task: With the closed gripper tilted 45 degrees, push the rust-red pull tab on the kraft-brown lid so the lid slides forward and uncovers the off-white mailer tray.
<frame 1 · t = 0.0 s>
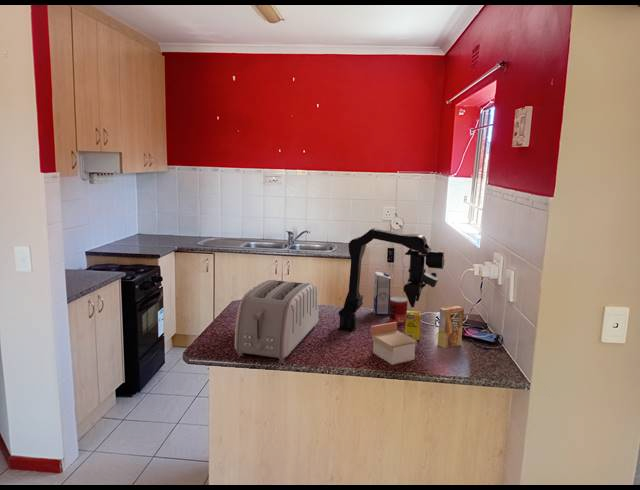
hand: (414, 304, 191), 15 cm above the worktop, tool pointing down, fingers open, 9 cm apart
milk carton: (381, 313, 225), on the worktop
mailer tray: (393, 356, 176), on the worktop
candy box: (449, 345, 188), on the worktop
canned food: (397, 322, 213), on the worktop
toaster: (278, 342, 188), on the worktop
lid: (393, 336, 175), point 8 cm above the worktop, slide at 0.0 cm
supplement box: (412, 339, 194), on the worktop
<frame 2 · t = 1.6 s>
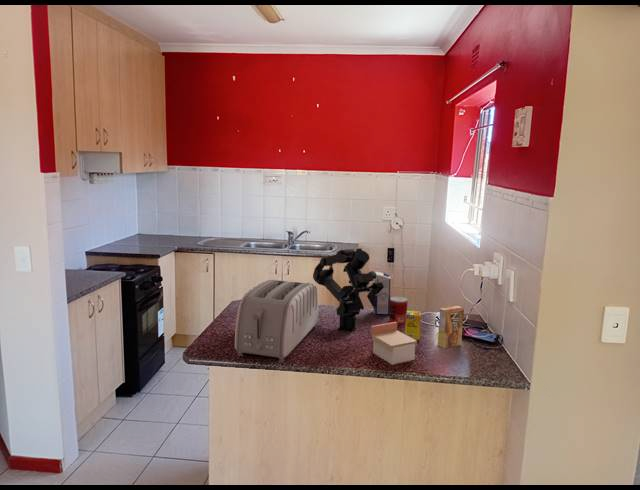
hand: (369, 308, 188), 14 cm above the worktop, tool tilted 45°, fingers open, 5 cm apart
nothing on the worktop moved.
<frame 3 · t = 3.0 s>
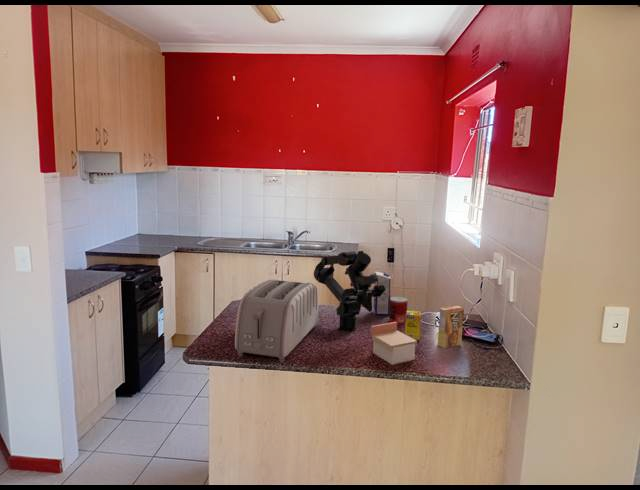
hand: (370, 311, 187), 13 cm above the worktop, tool tilted 45°, fingers closed
nothing on the worktop moved.
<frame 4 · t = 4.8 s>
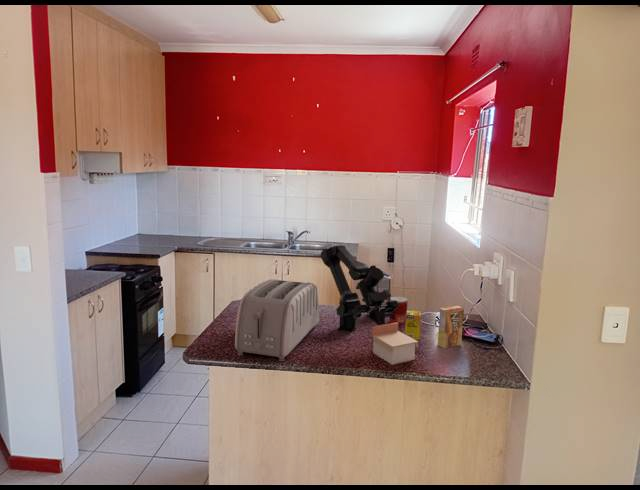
hand: (383, 328, 180), 9 cm above the worktop, tool tilted 45°, fingers closed, pressing on lid
lid: (394, 336, 174), point 8 cm above the worktop, slide at 0.7 cm, touching gripper
everything else where it was.
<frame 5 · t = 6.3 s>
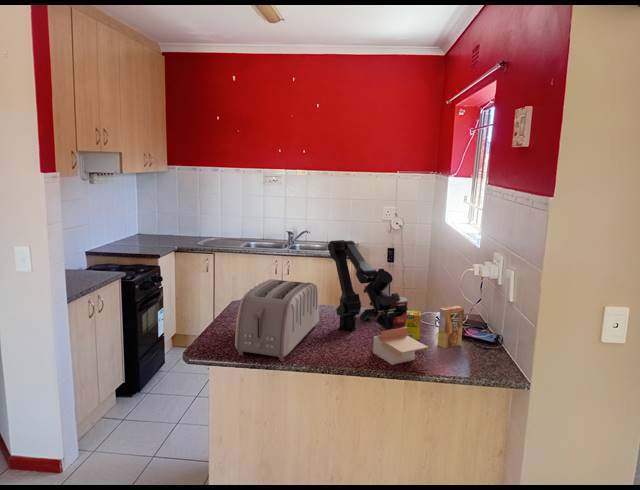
hand: (392, 333, 175), 9 cm above the worktop, tool tilted 45°, fingers closed, pressing on lid
lid: (403, 342, 169), point 8 cm above the worktop, slide at 6.2 cm, touching gripper
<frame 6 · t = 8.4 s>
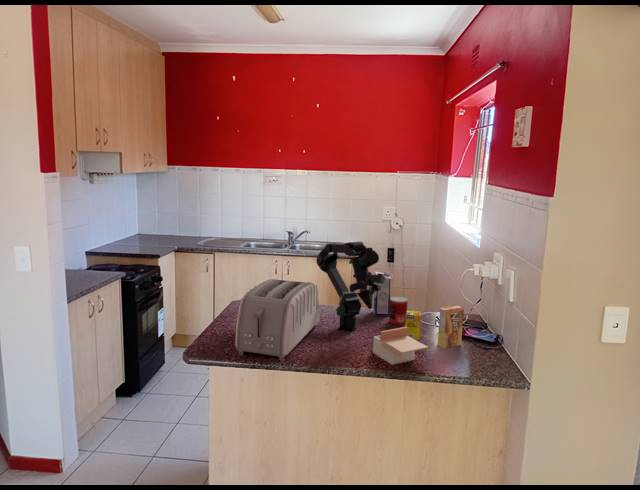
hand: (370, 308, 188), 13 cm above the worktop, tool tilted 30°, fingers closed
lid: (403, 342, 169), point 8 cm above the worktop, slide at 6.2 cm
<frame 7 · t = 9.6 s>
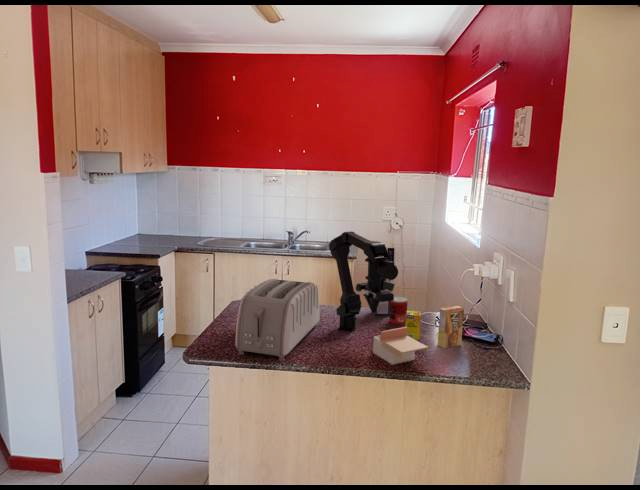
hand: (373, 312, 188), 12 cm above the worktop, tool pointing down, fingers closed
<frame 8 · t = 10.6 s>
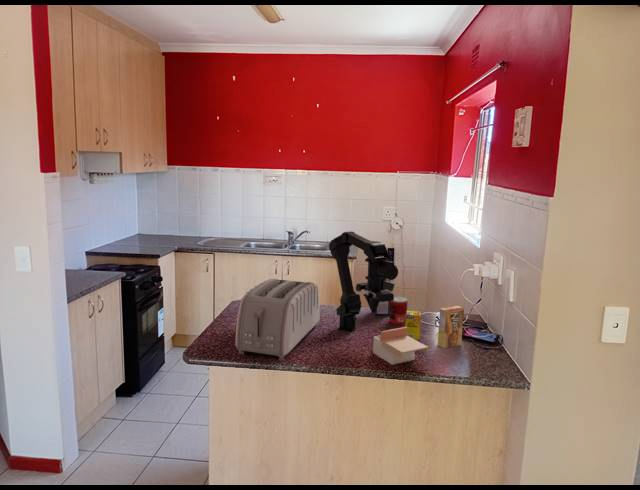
hand: (373, 312, 188), 12 cm above the worktop, tool pointing down, fingers closed
at the end: lid slide at 6.2 cm; supplement box moved 0.2 cm from its start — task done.
